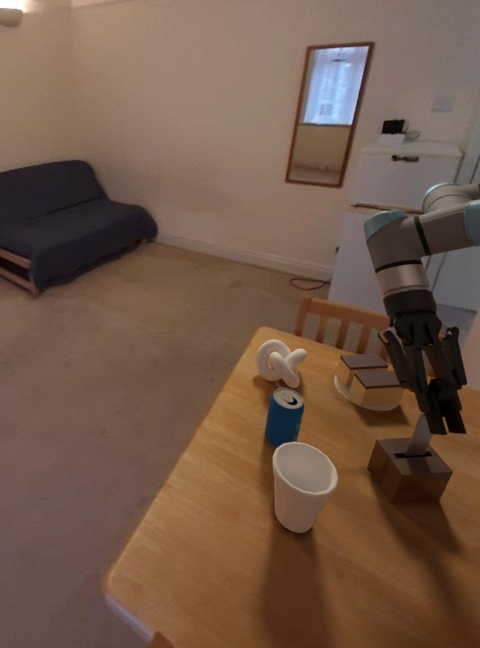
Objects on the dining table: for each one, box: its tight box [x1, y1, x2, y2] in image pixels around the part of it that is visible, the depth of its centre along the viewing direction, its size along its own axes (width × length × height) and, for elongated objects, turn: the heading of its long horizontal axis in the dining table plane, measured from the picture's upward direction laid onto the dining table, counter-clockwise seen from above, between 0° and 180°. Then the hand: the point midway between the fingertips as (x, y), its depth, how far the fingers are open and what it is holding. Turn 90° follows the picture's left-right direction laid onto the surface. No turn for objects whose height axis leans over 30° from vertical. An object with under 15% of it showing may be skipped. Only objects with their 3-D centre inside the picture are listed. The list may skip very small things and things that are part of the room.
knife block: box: [366, 436, 454, 505], centre depth 75 cm, size 9×7×8 cm
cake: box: [335, 352, 406, 407], centre depth 96 cm, size 9×11×6 cm
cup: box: [272, 441, 339, 534], centre depth 69 cm, size 10×10×13 cm
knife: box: [405, 377, 456, 456], centre depth 69 cm, size 3×2×17 cm
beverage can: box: [264, 387, 305, 448], centre depth 84 cm, size 6×6×12 cm
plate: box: [333, 374, 400, 412], centre depth 98 cm, size 14×14×1 cm
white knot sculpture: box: [255, 339, 308, 389], centre depth 102 cm, size 11×12×9 cm
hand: (448, 433), depth 65 cm, fingers closed on knife, 2 cm apart
